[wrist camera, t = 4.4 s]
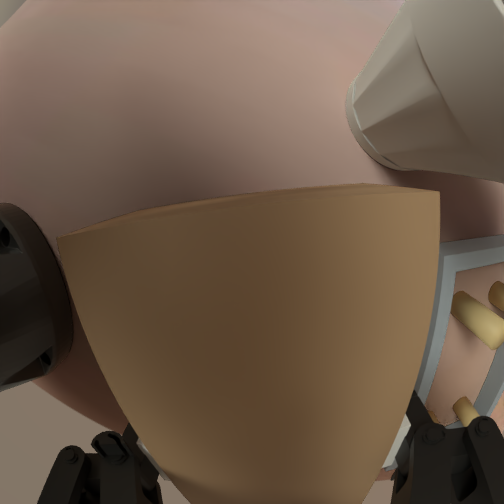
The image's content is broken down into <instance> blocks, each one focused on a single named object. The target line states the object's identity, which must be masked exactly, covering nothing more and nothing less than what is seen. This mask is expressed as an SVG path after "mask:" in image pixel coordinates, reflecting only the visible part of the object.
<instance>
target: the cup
mask: <svg viewBox="0 0 504 504" xmlns="http://www.w3.org/2000/svg"><path fill="white" fill-rule="evenodd" d="M346 114H347V119H348V123H349V126H350V128H351V131H352V133H353V135H354V137H355V138H356V140H357V142H358V143H359V144H360V146H361V147H362V148H363V149H364V151H365V152H366V153H367V154H368V155H370V156H371V157H372V158H373V159H374V160H376V161H377V162H379V163H380V164H382V165H384V166H386V167H389V168H391V169H395V170H401V171H412V170H428V171H436V172H443V173H450V174H457V175H463V176H469V177H475V178H480V179H486V180H491V181H496V182H500V183H504V0H405V1H404V3H403V5H402V6H401V8H400V9H399V11H398V13H397V14H396V16H395V18H394V19H393V21H392V22H391V24H390V26H389V27H388V29H387V30H386V32H385V34H384V35H383V37H382V39H381V40H380V42H379V43H378V45H377V47H376V48H375V50H374V52H373V53H372V55H371V56H370V58H369V60H368V61H367V63H366V65H365V66H364V68H363V69H362V71H361V72H360V73H359V74H358V75H357V77H356V78H355V79H354V80H353V82H352V83H351V85H350V87H349V89H348V92H347V97H346Z"/></svg>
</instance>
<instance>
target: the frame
mask: <svg viewBox="0 0 504 504" xmlns="http://www.w3.org/2000/svg"><path fill="white" fill-rule="evenodd" d="M500 262H504V235H496V236H489V237H482V238H474V239H466V240H458V241H451V242H443V243H439V259H438V271H437V280H436V289H435V296H434V303H433V310H432V316H431V321H430V326H429V331H428V336H427V341H426V345H425V350H424V354H423V358H422V362H421V366H420V369H419V373H418V376H417V380H416V383H415V386H414V390H415V391H416V393H417V394H418V397H419V398H420V399H421V401H422V403H423V404H424V405H425V402H426V399H427V397H428V394H429V391H430V388H431V385H432V382H433V379H434V376H435V373H436V369H437V366H438V362H439V359H440V355H441V351H442V347H443V343H444V339H445V335H446V331H447V326H448V321H449V316H450V313H451V314H452V315H454V316H455V317H456V318H457V319H458V320H459V321H461V322H462V323H463V324H464V325H465V326H466V327H467V328H468V329H470V330H471V331H472V332H473V333H474V334H475V335H476V336H477V337H478V338H479V339H481V340H482V341H483V342H484V343H485V344H486V345H487V346H488V347H489V348H490V349H491V350H495V349H497V348H498V349H497V351H496V354H495V357H494V360H493V363H492V365H491V368H490V370H489V373H488V375H487V378H486V380H485V382H484V385H483V387H482V389H481V391H480V393H479V396H478V398H477V400H476V402H475V404H474V406H473V405H472V404H471V402H470V401H469V400H468V398H467V397H462V398H460V399H459V400H458V401H457V402H456V403H455V404H454V406H453V410H454V412H455V413H456V415H457V416H458V418H459V419H460V420H459V421H457V422H455V423H453V424H450V425H448V426H446V427H445V428H446V429H453V428H460V427H467V426H468V425H469V424H470V422H471V421H472V420H473V419H474V418H476V417H478V416H488V417H490V415H491V413H492V412H493V410H494V408H495V406H496V404H497V402H498V400H499V399H500V397H501V395H502V393H503V391H504V320H503V319H502V318H501V317H499V316H498V315H497V314H495V313H494V312H493V311H491V310H490V309H488V308H487V307H486V306H484V305H483V304H481V303H480V302H479V301H477V300H476V299H474V298H473V297H471V296H470V295H469V294H467V293H466V292H464V291H459V292H457V293H456V294H455V295H454V296H453V292H454V285H455V276H456V272H458V271H463V270H468V269H473V268H478V267H482V266H487V265H491V264H496V263H500ZM489 302H490V303H492V304H493V305H495V306H496V307H498V308H499V309H500V310H502V311H503V312H504V284H503V283H502V282H500V281H497V282H495V283H494V284H493V286H492V287H491V289H490V292H489ZM428 413H429V415H430V417H431V419H432V420H433V421H434V423H438V424H439V422H438V420H437V418H436V417H435V415H434V413H433V411H428ZM397 467H398V465H397V462H396V459H394V461H393V463H392V465H390V466H387V467H384V469H385V472H386V471H389V470H393V469H396V468H397Z"/></svg>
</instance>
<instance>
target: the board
mask: <svg viewBox="0 0 504 504" xmlns="http://www.w3.org/2000/svg"><path fill="white" fill-rule="evenodd" d="M56 240H57V244H58V249H59V253H60V257H61V261H62V265H63V269H64V272H65V276H66V279H67V283H68V286H69V289H70V293H71V296H72V299H73V302H74V305H75V308H76V311H77V314H78V316H79V319H80V322H81V324H82V327H83V330H84V332H85V335H86V337H87V340H88V342H89V344H90V347H91V349H92V351H93V354H94V356H95V358H96V360H97V363H98V365H99V367H100V369H101V371H102V373H103V375H104V377H105V379H106V381H107V383H108V385H109V387H110V389H111V391H112V393H113V395H114V397H115V398H116V400H117V402H118V404H119V406H120V407H121V409H122V411H123V412H124V414H125V416H126V418H127V419H128V421H129V422H130V424H131V426H132V427H133V429H134V430H135V432H136V434H137V435H138V437H139V438H140V440H141V441H142V443H143V444H144V446H145V447H146V448H147V450H148V451H149V453H150V454H151V456H152V457H153V458H154V460H155V461H156V462H157V464H158V465H159V466H160V468H161V469H162V470H163V472H164V473H165V474H166V475H167V477H168V478H169V479H170V480H171V481H172V483H173V484H174V485H175V486H176V488H177V489H178V490H179V491H180V492H181V493H182V494H183V496H184V497H185V498H186V499H187V500H188V501H189V502H190V503H191V504H362V502H363V501H364V499H365V497H366V495H367V494H368V492H369V490H370V488H371V487H372V485H373V483H374V481H375V480H376V478H377V476H378V474H379V472H380V470H381V468H382V466H383V464H384V462H385V460H386V458H387V456H388V454H389V452H390V450H391V447H392V445H393V443H394V441H395V438H396V436H397V433H398V431H399V429H400V426H401V424H402V421H403V418H404V416H405V413H406V410H407V407H408V405H409V402H410V399H411V396H412V393H413V390H414V386H415V383H416V380H417V376H418V373H419V369H420V366H421V362H422V358H423V354H424V350H425V345H426V341H427V336H428V331H429V326H430V321H431V316H432V310H433V303H434V296H435V289H436V280H437V271H438V259H439V243H440V192H439V191H431V190H424V189H416V188H407V187H398V186H388V185H378V184H366V183H360V184H343V185H329V186H316V187H304V188H293V189H283V190H274V191H265V192H256V193H248V194H239V195H232V196H224V197H217V198H210V199H203V200H197V201H190V202H184V203H178V204H172V205H166V206H160V207H154V208H149V209H143V210H138V211H135V212H132V213H128V214H125V215H122V216H119V217H115V218H112V219H109V220H106V221H103V222H100V223H97V224H94V225H91V226H88V227H85V228H82V229H79V230H76V231H74V232H71V233H68V234H65V235H62V236H60V237H57V238H56Z"/></svg>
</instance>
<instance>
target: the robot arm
mask: <svg viewBox="0 0 504 504" xmlns="http://www.w3.org/2000/svg"><path fill="white" fill-rule="evenodd" d="M72 335H73V328H72V316H71V310H70V305H69V300H68V296H67V292H66V289H65V285H64V282H63V279H62V276H61V273H60V271H59V268H58V266H57V263H56V261H55V258H54V256H53V254H52V252H51V250H50V248H49V246H48V244H47V242H46V240H45V238H44V237H43V235H42V233H41V232H40V230H39V229H38V227H37V226H36V225H35V223H34V222H33V221H32V220H31V218H30V217H29V216H28V215H27V214H26V213H25V212H24V211H23V210H21V209H20V208H18V207H17V206H15V205H12V204H9V203H1V204H0V392H1V391H4V390H7V389H10V388H12V387H15V386H18V385H21V384H24V383H26V382H29V381H32V380H34V379H37V378H40V377H42V376H45V375H47V374H49V373H50V372H52V371H53V370H54V369H55V368H56V367H57V366H58V365H59V364H60V363H61V362H62V361H63V360H64V359H65V358H66V356H67V355H68V353H69V351H70V348H71V344H72ZM91 445H92V447H93V448H94V449H95V451H96V452H97V453H96V454H95V453H94V454H93V453H84V451H83V450H82V449H81V448H80V447H77V446H73V445H70V446H67V447H65V448H63V449H62V450H61V451H60V452H59V454H58V456H57V458H56V460H55V462H54V465H53V467H52V469H51V471H50V474H49V476H48V478H47V481H46V483H45V485H44V488H43V490H42V492H41V495H40V497H39V500H38V503H37V504H163V501H162V495H161V489H160V485H159V483H158V482H157V479H158V476H159V474H160V475H161V477H162V478H163V479H164V480H168V481H171V480H170V479H169V478H168V477H167V475H166V474H165V473H164V472H163V470H162V469H161V468H160V466H159V465H158V464H157V462H156V461H155V460H154V458H153V457H152V456H151V454H150V453H149V451H148V450H147V448H146V447H145V446H144V444H143V443H142V441H141V440H140V438H139V437H138V435H137V434H136V432H135V430H134V429H133V427H132V426H131V424H130V422H129V423H128V425H127V427H126V429H125V431H124V433H123V435H122V436H121V435H120V434H119V433H117V432H114V431H105V432H102V433H100V434H98V435H96V437H95V438H94V439H93V440H92V443H91ZM394 459H396V462H397V465H398V467H397V468H396V470H395V472H394V473H393V475H392V477H391V480H394V486H393V493H392V499H391V504H504V438H503V436H502V434H501V432H500V430H499V428H498V426H497V424H496V422H495V421H494V420H493V419H492V418H490V417H488V416H478V417H476V418H474V419H473V420H472V421H471V422H470V424H469V425H468V426H467V427H460V428H453V429H446V428H445V427H444V426H443V425H441V424H438V423H434V421H433V420H432V419H431V417H430V415H429V413H428V411H427V410H426V408H425V406H424V404H423V403H422V401H421V399H420V398H419V397H418V394H417V393H416V391H415V390H413V393H412V396H411V399H410V402H409V405H408V407H407V410H406V413H405V416H404V418H403V421H402V424H401V426H400V429H399V431H398V433H397V436H396V438H395V441H394V443H393V445H392V447H391V450H390V452H389V454H388V456H387V458H386V460H385V462H384V464H383V466H382V468H384V467H387V466H390V465H392V463H393V461H394ZM394 478H395V479H394Z"/></svg>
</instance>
